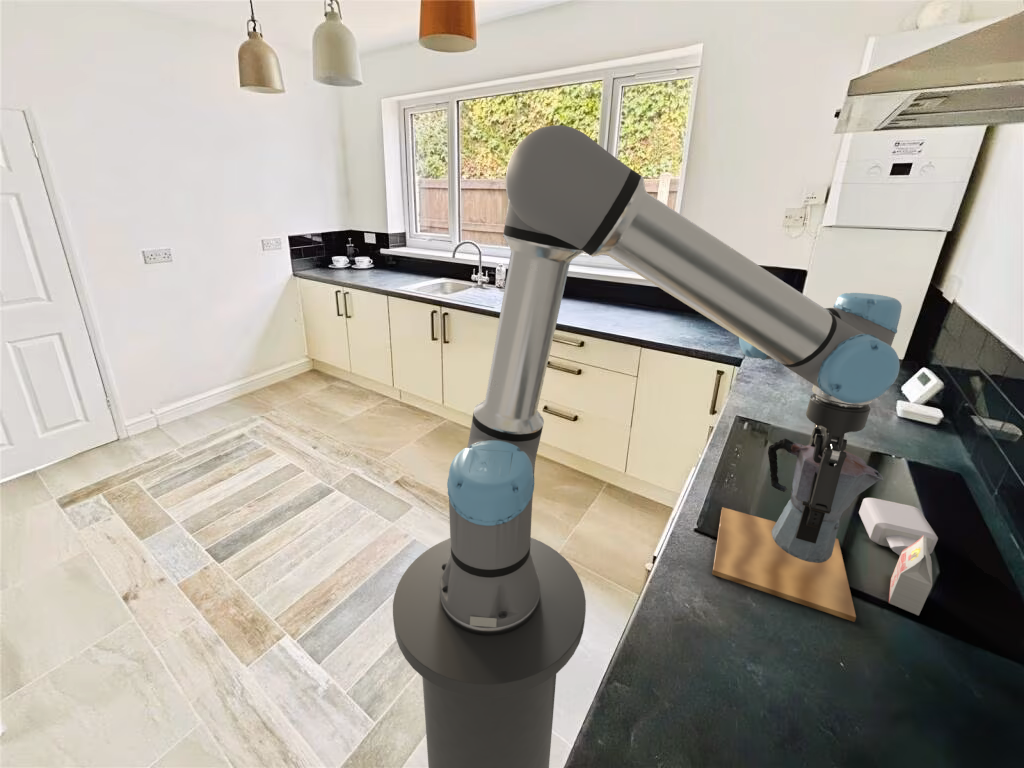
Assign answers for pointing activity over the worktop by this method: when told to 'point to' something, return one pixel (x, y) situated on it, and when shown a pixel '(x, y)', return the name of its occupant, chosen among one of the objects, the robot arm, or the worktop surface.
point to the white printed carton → (912, 578)
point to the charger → (895, 524)
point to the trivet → (779, 566)
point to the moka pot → (849, 485)
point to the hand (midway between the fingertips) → (803, 524)
